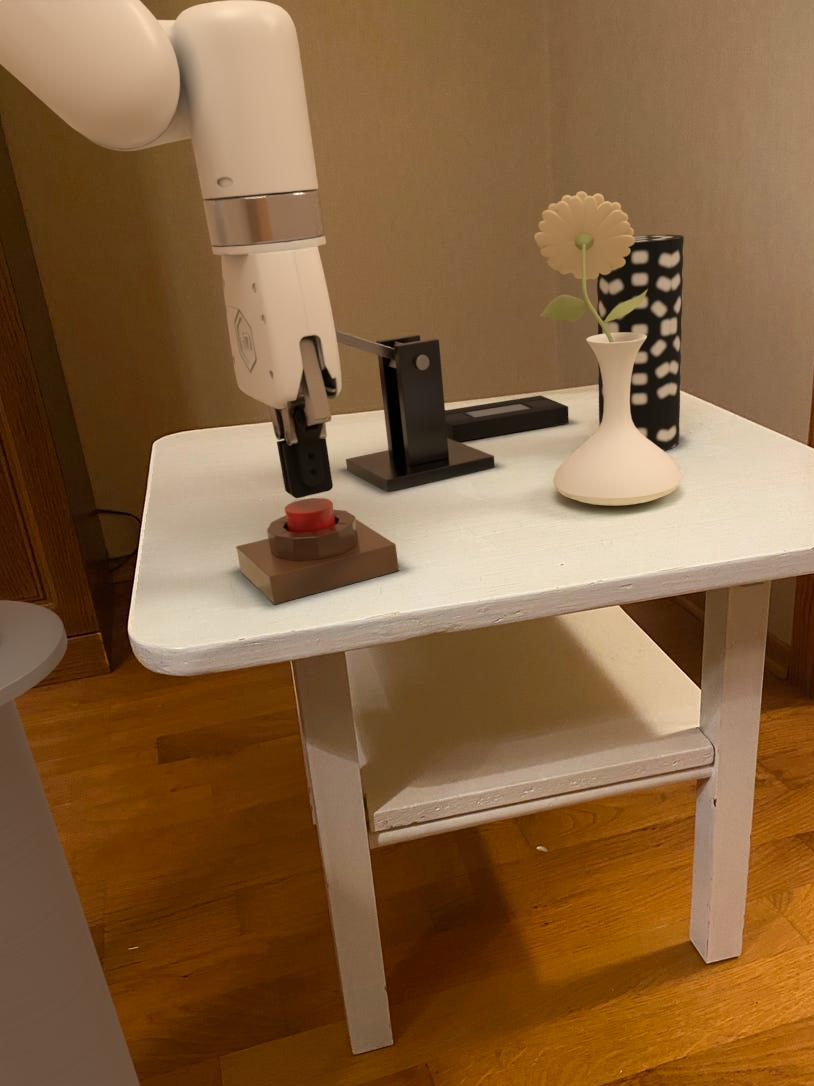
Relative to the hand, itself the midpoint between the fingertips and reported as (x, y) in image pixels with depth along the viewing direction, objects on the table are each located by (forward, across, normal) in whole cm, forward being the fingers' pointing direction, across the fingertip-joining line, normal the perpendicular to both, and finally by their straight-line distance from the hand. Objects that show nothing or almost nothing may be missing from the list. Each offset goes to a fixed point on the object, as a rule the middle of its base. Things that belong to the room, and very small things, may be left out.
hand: (309, 491), depth 72 cm
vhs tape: (+7, -29, +34) cm, 45 cm away
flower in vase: (+7, 0, +28) cm, 29 cm away
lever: (-6, -20, +12) cm, 24 cm away
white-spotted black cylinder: (+7, -12, +41) cm, 43 cm away
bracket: (+7, -20, +19) cm, 28 cm away
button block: (+6, 0, 0) cm, 6 cm away
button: (+3, 0, 0) cm, 3 cm away
